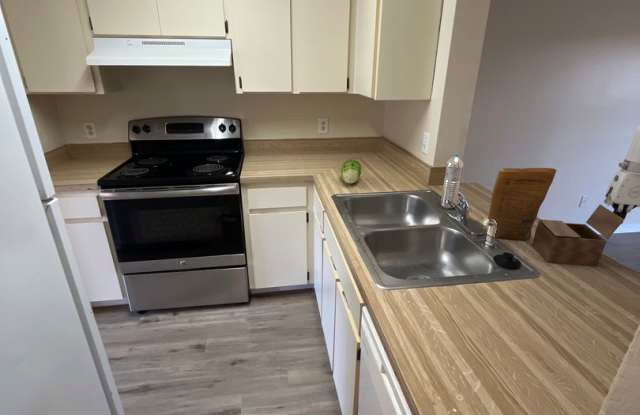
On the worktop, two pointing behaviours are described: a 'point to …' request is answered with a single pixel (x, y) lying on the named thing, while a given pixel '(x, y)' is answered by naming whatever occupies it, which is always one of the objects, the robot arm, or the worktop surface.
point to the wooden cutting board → (518, 200)
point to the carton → (568, 243)
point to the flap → (604, 221)
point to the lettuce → (351, 171)
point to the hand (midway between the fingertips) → (616, 221)
